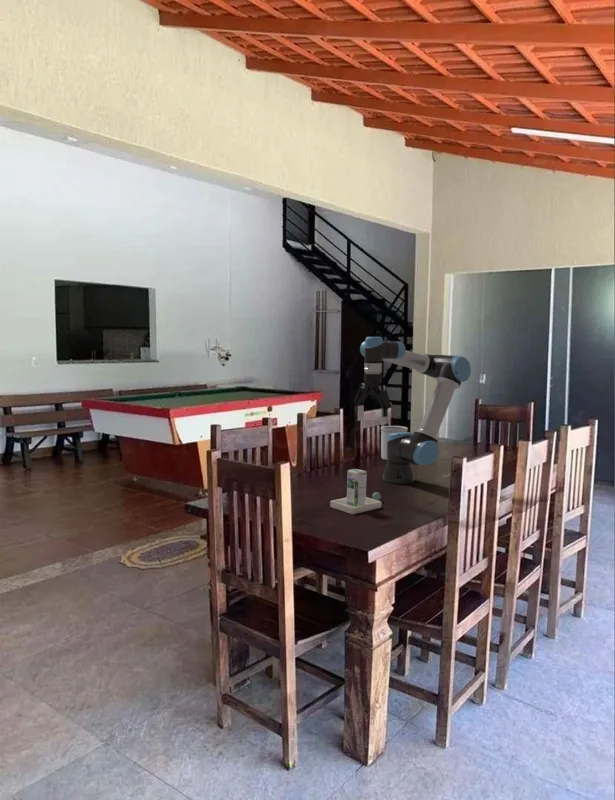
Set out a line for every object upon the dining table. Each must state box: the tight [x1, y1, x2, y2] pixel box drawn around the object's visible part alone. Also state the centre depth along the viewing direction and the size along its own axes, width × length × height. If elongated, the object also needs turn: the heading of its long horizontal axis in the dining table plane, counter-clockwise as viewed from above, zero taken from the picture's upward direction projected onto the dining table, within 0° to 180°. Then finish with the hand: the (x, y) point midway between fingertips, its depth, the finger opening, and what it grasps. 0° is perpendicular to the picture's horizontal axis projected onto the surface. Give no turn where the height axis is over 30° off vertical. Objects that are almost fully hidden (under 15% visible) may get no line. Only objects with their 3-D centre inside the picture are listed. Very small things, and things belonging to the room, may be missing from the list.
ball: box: [371, 491, 382, 501], centre depth 262 cm, size 4×4×4 cm
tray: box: [329, 496, 382, 515], centre depth 252 cm, size 16×13×2 cm
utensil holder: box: [380, 425, 409, 461], centre depth 350 cm, size 15×15×18 cm
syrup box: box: [346, 468, 368, 507], centre depth 251 cm, size 6×6×14 cm
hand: (371, 422), depth 269 cm, fingers open, 13 cm apart
